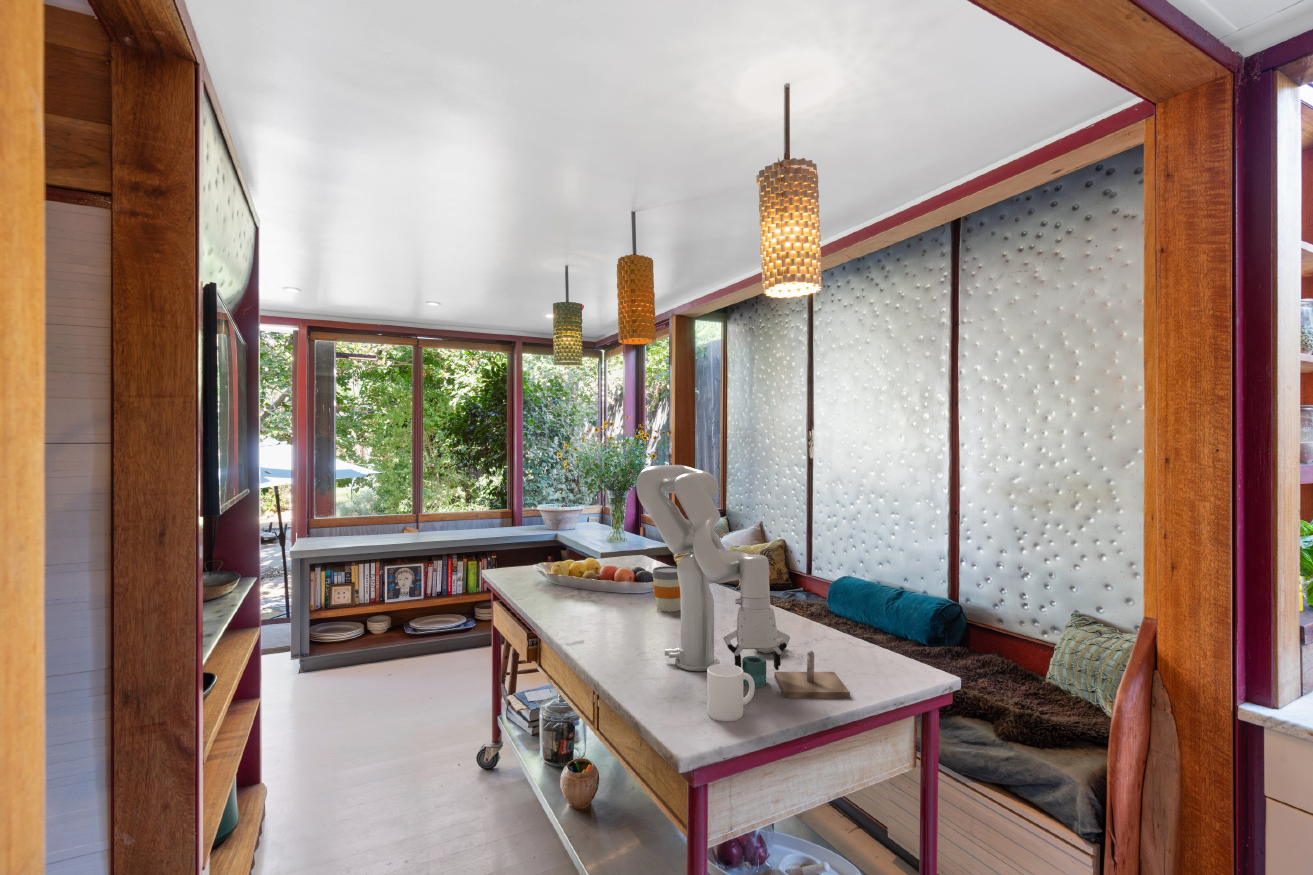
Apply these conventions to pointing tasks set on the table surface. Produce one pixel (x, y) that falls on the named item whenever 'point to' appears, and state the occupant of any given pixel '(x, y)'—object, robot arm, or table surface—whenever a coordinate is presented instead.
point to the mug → (727, 692)
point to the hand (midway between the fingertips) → (757, 669)
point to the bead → (755, 670)
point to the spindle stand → (811, 683)
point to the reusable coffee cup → (666, 588)
